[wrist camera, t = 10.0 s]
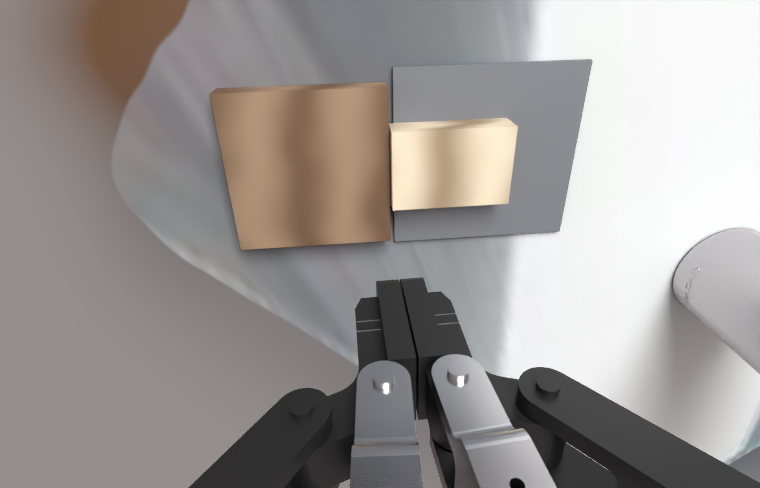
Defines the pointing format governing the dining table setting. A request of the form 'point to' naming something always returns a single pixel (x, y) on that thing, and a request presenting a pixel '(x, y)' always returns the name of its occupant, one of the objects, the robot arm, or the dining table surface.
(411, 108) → the charcoal mat
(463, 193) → the beech tile
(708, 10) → the dining table surface
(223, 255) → the dining table surface
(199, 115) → the dining table surface
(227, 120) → the block
